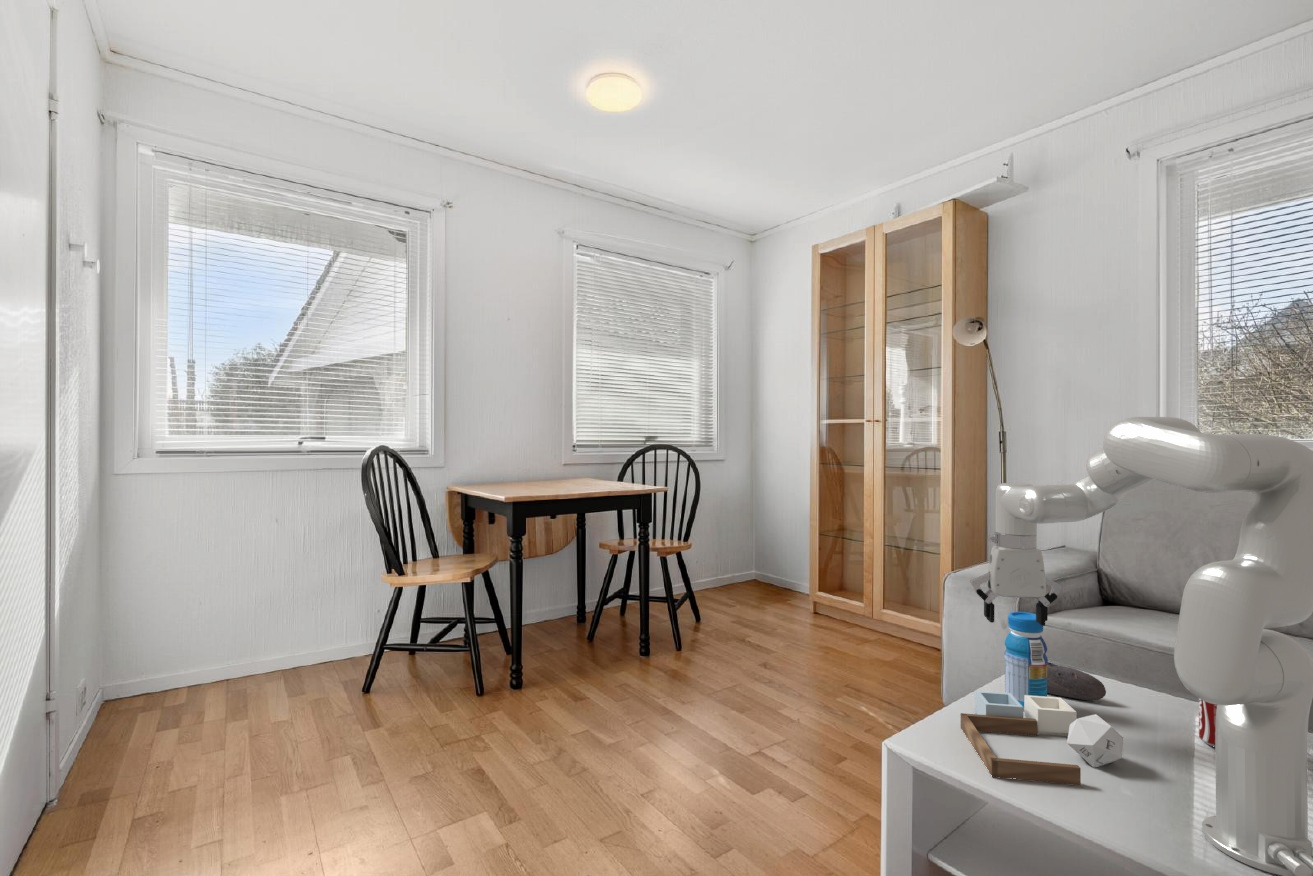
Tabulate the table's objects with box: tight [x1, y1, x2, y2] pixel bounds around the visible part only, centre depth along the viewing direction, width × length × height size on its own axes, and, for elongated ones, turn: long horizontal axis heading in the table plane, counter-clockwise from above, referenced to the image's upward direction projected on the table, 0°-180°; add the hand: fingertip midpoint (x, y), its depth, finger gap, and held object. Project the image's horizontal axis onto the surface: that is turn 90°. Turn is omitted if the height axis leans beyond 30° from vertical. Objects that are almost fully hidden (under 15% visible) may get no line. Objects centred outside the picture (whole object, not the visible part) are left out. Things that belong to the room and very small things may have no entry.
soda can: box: [1198, 698, 1217, 748], centre depth 120 cm, size 7×7×12 cm
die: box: [1066, 714, 1124, 768], centre depth 114 cm, size 8×9×10 cm
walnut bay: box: [960, 712, 1082, 787], centre depth 117 cm, size 19×14×3 cm
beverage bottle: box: [1003, 611, 1049, 711], centre depth 138 cm, size 8×8×20 cm
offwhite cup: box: [1023, 695, 1078, 737], centre depth 127 cm, size 7×7×5 cm
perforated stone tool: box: [1047, 661, 1107, 701], centre depth 143 cm, size 15×5×7 cm, turn 50°
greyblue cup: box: [974, 690, 1024, 718], centre depth 129 cm, size 7×7×5 cm
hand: (1015, 622), depth 131 cm, fingers open, 9 cm apart
